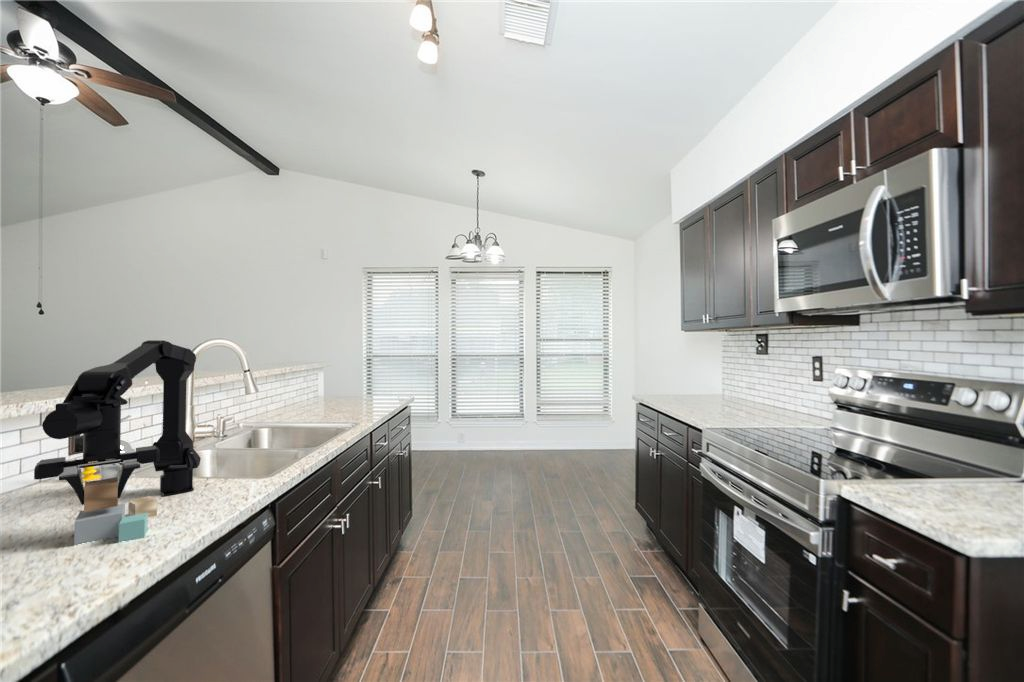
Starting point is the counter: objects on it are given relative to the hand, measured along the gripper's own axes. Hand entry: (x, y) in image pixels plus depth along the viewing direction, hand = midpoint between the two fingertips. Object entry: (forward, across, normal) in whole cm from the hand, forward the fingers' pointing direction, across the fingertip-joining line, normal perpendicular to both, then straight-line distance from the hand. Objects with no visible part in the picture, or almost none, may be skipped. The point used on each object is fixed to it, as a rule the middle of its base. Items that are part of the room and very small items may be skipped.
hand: (101, 500), depth 88 cm
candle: (+8, +3, -52) cm, 53 cm away
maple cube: (+7, -7, -6) cm, 12 cm away
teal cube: (+7, -5, +6) cm, 11 cm away
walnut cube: (+1, 0, 0) cm, 1 cm away
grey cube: (+7, 0, 0) cm, 7 cm away
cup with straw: (+8, -3, -35) cm, 36 cm away
